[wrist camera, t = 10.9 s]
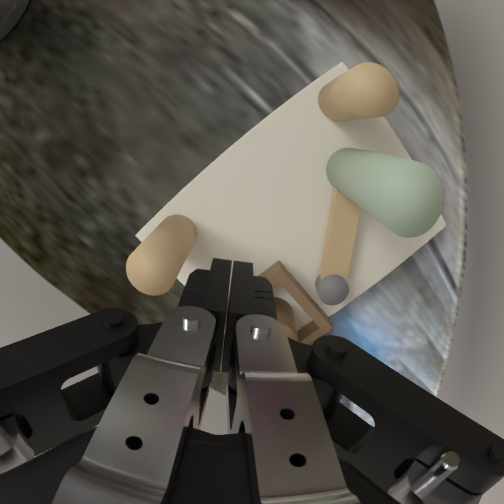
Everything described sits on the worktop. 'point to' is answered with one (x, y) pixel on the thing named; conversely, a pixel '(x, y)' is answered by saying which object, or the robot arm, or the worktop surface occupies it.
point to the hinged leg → (373, 208)
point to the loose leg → (286, 317)
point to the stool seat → (284, 200)
